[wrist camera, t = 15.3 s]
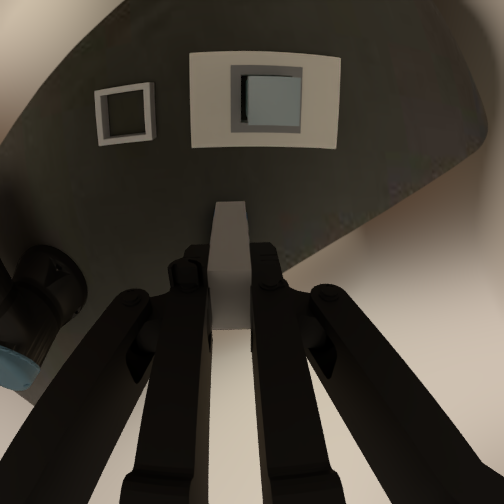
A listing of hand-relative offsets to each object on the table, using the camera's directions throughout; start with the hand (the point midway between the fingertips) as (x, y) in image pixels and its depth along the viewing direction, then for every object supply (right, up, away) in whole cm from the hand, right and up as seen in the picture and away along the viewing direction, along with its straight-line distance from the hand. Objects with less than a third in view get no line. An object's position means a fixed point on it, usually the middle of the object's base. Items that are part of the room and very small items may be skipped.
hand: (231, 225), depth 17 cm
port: (+3, +18, +20) cm, 27 cm away
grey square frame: (-15, +17, +20) cm, 30 cm away
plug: (+3, +18, +20) cm, 27 cm away
